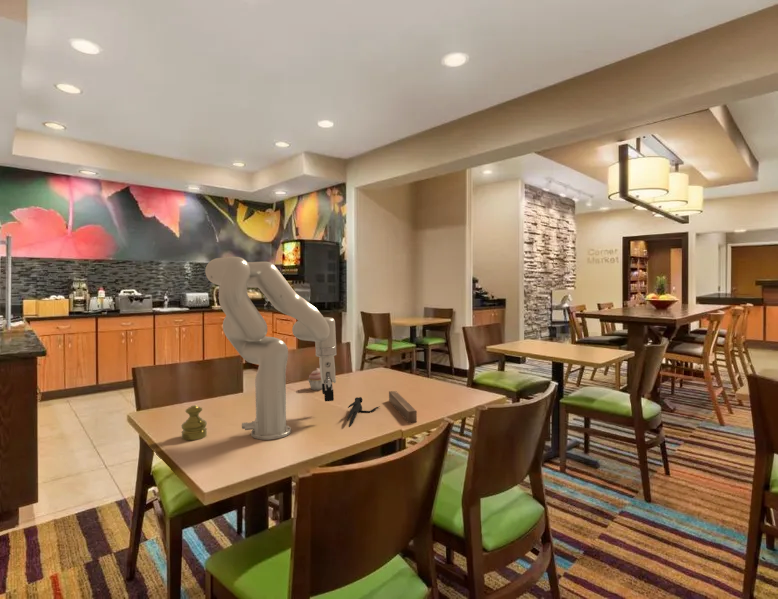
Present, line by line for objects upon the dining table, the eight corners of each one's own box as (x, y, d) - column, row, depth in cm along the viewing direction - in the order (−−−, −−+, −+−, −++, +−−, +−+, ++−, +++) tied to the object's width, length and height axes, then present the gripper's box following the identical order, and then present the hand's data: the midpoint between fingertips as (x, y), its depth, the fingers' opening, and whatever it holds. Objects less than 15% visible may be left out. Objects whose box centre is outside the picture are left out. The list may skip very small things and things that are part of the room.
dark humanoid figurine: (365, 408, 150) (375, 386, 175) (341, 415, 151) (355, 392, 176) (373, 430, 150) (382, 405, 175) (349, 437, 152) (361, 411, 176)
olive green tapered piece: (181, 442, 137) (180, 410, 137) (182, 434, 144) (181, 404, 144) (207, 438, 140) (206, 407, 140) (206, 431, 147) (206, 401, 147)
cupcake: (308, 387, 211) (307, 366, 210) (327, 386, 212) (327, 365, 211) (306, 391, 201) (306, 369, 201) (327, 391, 202) (327, 369, 202)
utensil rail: (408, 422, 155) (408, 411, 155) (389, 400, 184) (388, 391, 184) (416, 422, 156) (416, 410, 156) (396, 400, 185) (395, 391, 185)
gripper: (339, 354, 154) (340, 402, 156) (333, 346, 171) (335, 390, 172) (317, 356, 153) (319, 405, 154) (314, 348, 170) (316, 392, 171)
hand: (327, 397), depth 163 cm, fingers open, 9 cm apart
